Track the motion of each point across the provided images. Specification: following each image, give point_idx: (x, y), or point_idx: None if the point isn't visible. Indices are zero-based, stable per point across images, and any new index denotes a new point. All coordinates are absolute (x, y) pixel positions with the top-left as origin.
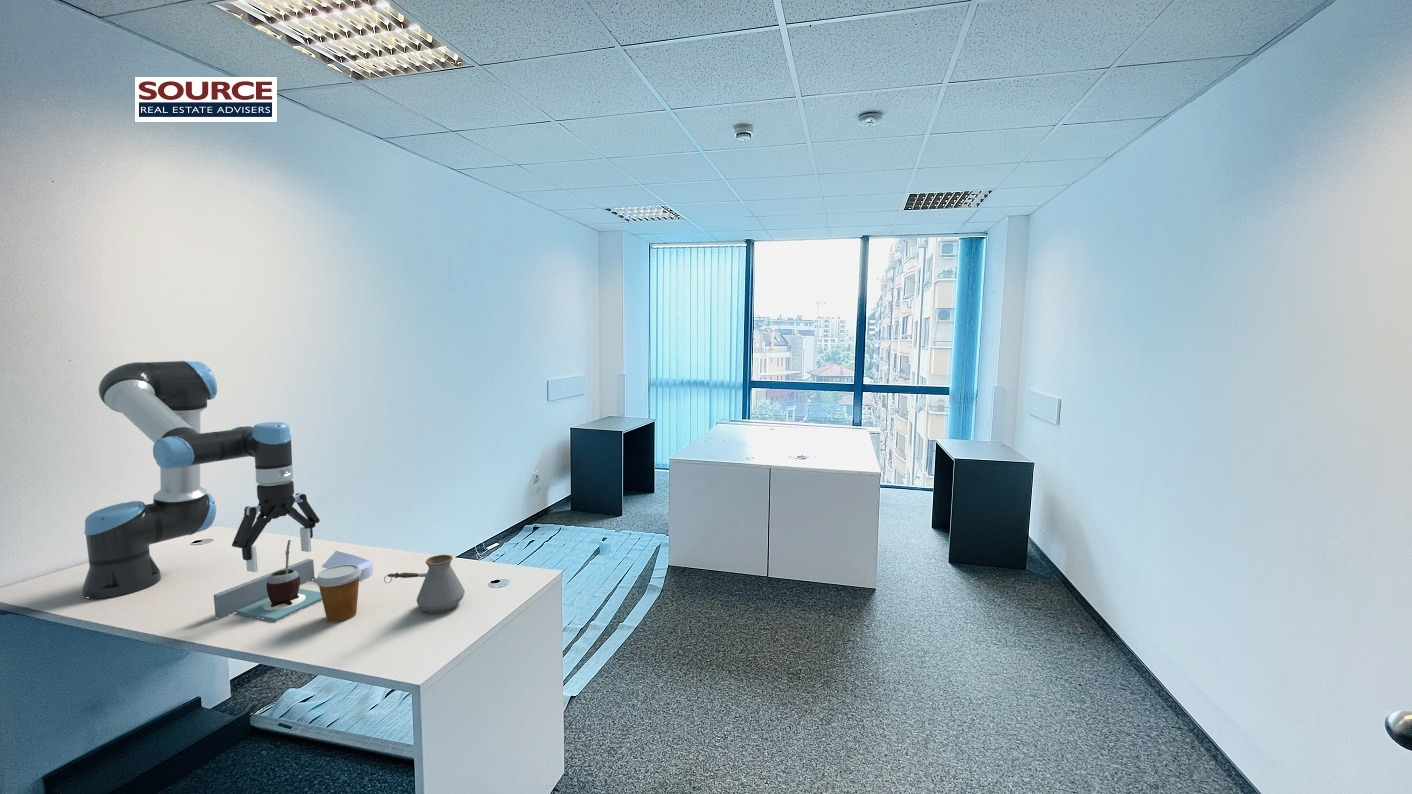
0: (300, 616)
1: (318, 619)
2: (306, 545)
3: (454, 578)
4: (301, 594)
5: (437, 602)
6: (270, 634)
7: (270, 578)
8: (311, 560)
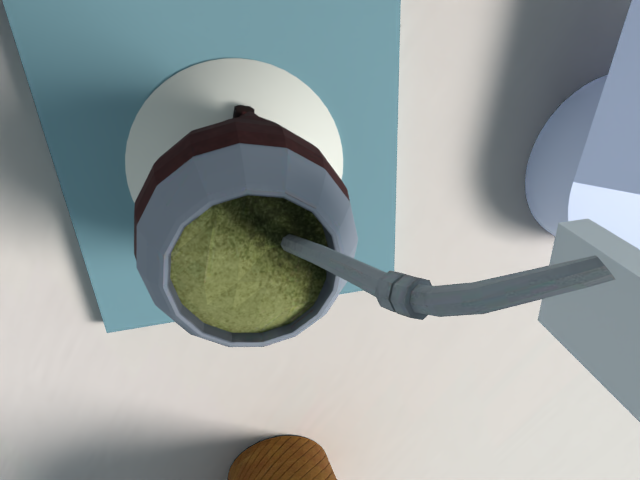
0: (200, 356)
1: (221, 434)
2: (594, 348)
3: None
4: (339, 163)
5: None
6: (38, 413)
7: (151, 267)
8: None
